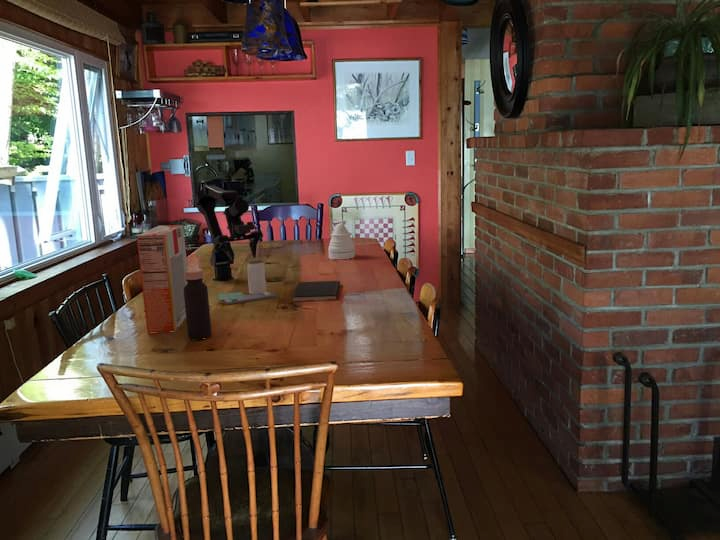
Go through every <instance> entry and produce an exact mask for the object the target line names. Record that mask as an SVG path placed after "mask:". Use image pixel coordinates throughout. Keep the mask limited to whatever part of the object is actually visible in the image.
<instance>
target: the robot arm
mask: <svg viewBox="0 0 720 540" xmlns="http://www.w3.org/2000/svg"><path fill="white" fill-rule="evenodd" d="M217 203H218V204H219V206H221V207H225V208H224V210H223V213H222V214H223V215H224V217H225V221H226V224H227V227H226V228H227V230H228V232H229V236H228V234H223V232H222V229H221V226H220V223H219V221H218V218H217V214H216V212H215V210H216V207H217ZM194 205H195V207H196V209H197V211H198V212H199V213H200V214H201V215H203V216H204V220H205V222H206V226H207V229H208V232H209V236H210V238H211V241H212V244H213V246H212V249H211V256H210V259H209V264H210V266H211V267H214V268H213V269H214V270H213V271H214V278H212V280H213V281H220V282H221V281H223V282H226V281H229V280H231V279H233V278H235V276H233V273H232V272H233V271H232V268H231V265H234V262H235V253H234V250H233V248H232V245H231V243H233V242H238V241H239V242H240V241H247V240H248V241H249V243H248V245H249V249H250V251H251V254H252V257H253V259H256V257H257V247H258V242H259V241H261V240H262V238H264V233H263V232H262V231H261V230H255V224H254V222H253V221H247V222H246V223H245V222H244V221H243V219H242V217H243V216H244V215H245V214H246V213H247V212H248V211H249V209H250V206H249V203H248V202H247V200H245V199H243V197H242V196H240V195H239V194H238V193H237V191H236V190H225V189H223V188H221V187H219V186H217V185H215V184H207V185H204V186H202V189H200V190H199V191H198V192H196V195H195V196H194ZM253 230H255V231H253Z"/></svg>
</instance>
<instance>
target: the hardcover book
mask: <svg viewBox="0 0 720 540" xmlns="http://www.w3.org/2000/svg"><path fill="white" fill-rule="evenodd" d="M340 288H341V281H340V280H321V281H320V280H319V281H300V282H299V283H298V285H297V286H296V288H295V290H294V292H293V294H292V295H291V298H292V300H293V302H306V301H305V300H307V302H309V301H308V300H314V301H328V300H327V299H337V300H338V296H339V292H340V291H339V290H340Z"/></svg>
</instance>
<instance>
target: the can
mask: <svg viewBox="0 0 720 540" xmlns="http://www.w3.org/2000/svg"><path fill="white" fill-rule="evenodd" d="M246 269H247V270H246V271H247V282H248V284H247V285H248V293H249V295H252V294H259V293H262V292H266V291H267V283H266V269H265V264H264V261H263V260H251V261H248V262H247V266H246Z"/></svg>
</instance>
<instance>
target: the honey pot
mask: <svg viewBox="0 0 720 540" xmlns="http://www.w3.org/2000/svg"><path fill="white" fill-rule="evenodd" d="M345 225H347V220H340V223H337V225H336V226H335V228H334V230H333V232H332V233H330V235H331V237H330V238H331V239H330V240H329V244H328V245H329V246H328V248H327V249H328V259H329V258H330V259H329V260H332V259H347V260H350V259H349V258H352V259H354V258H353V257H356V251H355V247H356V246H355V245H354V241H353V239H352V232H351V231H349V230H348V228H347V227H346V226H345Z"/></svg>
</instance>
